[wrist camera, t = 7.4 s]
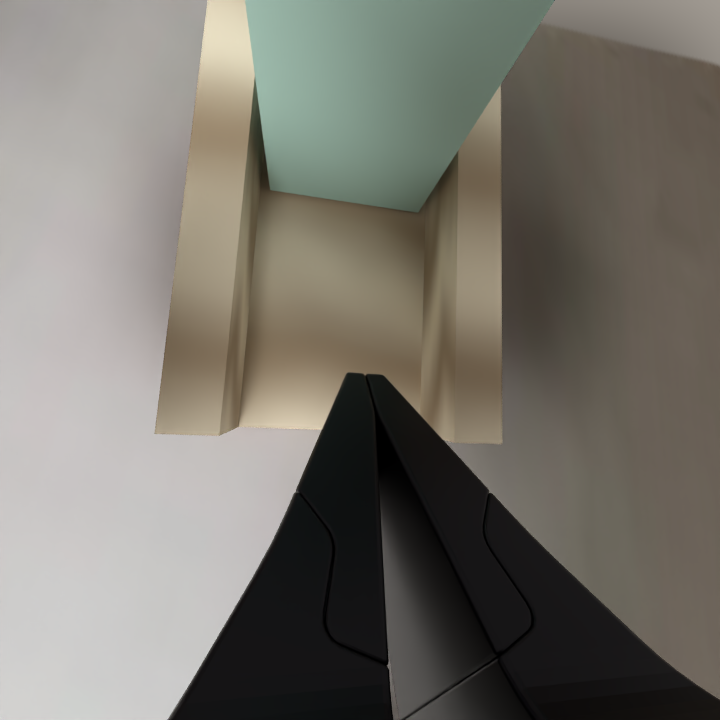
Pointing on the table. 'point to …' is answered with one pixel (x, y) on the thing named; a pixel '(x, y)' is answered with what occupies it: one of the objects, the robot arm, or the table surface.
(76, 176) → the table surface
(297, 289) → the chute
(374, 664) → the robot arm
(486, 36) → the sage block
